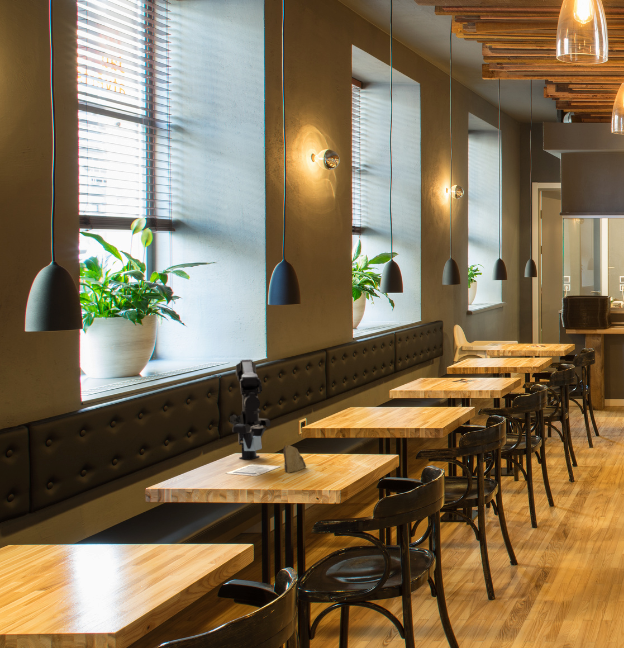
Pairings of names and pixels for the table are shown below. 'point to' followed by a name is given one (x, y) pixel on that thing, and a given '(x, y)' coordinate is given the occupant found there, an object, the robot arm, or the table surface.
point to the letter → (253, 470)
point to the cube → (254, 444)
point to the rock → (292, 459)
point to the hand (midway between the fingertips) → (252, 447)
